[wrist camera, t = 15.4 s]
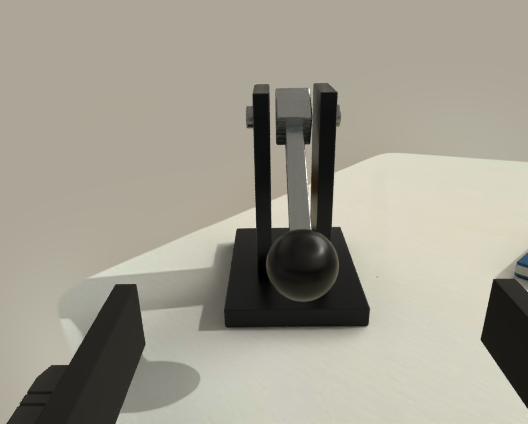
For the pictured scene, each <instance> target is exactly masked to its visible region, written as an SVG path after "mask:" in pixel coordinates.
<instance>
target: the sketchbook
mask: <svg viewBox="0 0 528 424" xmlns="http://www.w3.org/2000/svg"><path fill="white" fill-rule="evenodd" d="M515 275H516V276H519V277H522V278H525V279H528V253H527V254H526V255H525V256H523V257H522V258H521V259H520V260H519V261H518V262H517V265H516V270H515Z"/></svg>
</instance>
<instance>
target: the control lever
mask: <svg viewBox="0 0 528 424" xmlns="http://www.w3.org/2000/svg"><path fill="white" fill-rule="evenodd" d="M311 127H312V108H311V98H310V89H309V88H277V89H276V144H277V145H285V146H286V147H285V148H286V171H287V191H288V192H287V193H288V215H289V231H288V232H286V233H284V234H283V235H281V236H280V237H279V238H278V239H277V240H276V241H275V242H274V243H273V244H272V246H271V248H270V250H269V252H268V255H267V261H266V269H267V274H268V277H269V280H270V282H271V284H272V285H273V287H274V288H275V289H276V290H277V291H278V292H279V293H280V294H281V295H283V296H284V297H286V298H288V299H291V300H294V301H301V302H305V301H312V300H315V299H318V298H320V297H321V296H323V295H324V294H326V293H327V292H328V291H329V290H330V289H331V287H332V286H333V285H334V283H335V281H336V278H337V275H338V270H339V261H338V255H337V253H336V250H335V248H334V246H333V245H332V243H331V242H330V241H329V240H328V239H327V238H326V237H325V236H323V235H322V234H320V233H318V232H316V231H313V230H311V218H310V206H309V194H308V182H307V169H306V157H305V145H304V144H310V138H311Z"/></svg>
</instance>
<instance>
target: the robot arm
mask: <svg viewBox="0 0 528 424" xmlns="http://www.w3.org/2000/svg"><path fill="white" fill-rule="evenodd" d="M481 341H482V343H483V344H484V346H485V347H486V349H487V350H488V351H489V353H490V354H491V356H492V357H493V359H494V360H495V362H496V363H497V365H498V366H499V368H500V369H501V370H502V372H503V373H504V375H505V376H506V378H507V379H508V381H509V382H510V384H511V385H512V387H513V388H514V389H515V391H516V392H517V394H518V395H519V397H520V398H521V400H522V401H523V403H524V404H525V406H526V407H527V408H528V292H527V291H526V290H525V289H524V288H523V287H522V286H521V285H520V284H519V283H518V282H517V281H516V280H515V279H493V283H492V288H491V293H490V298H489V302H488V307H487V312H486V317H485V321H484V326H483V331H482V335H481ZM144 347H145V338H144V331H143V325H142V318H141V312H140V305H139V299H138V292H137V286H136V284H116V285H115V286H114V288H113V290H112V292H111V293H110V295H109V297H108V298H107V300H106V302H105V304H104V305H103V307H102V309H101V310H100V312H99V314H98V316H97V317H96V319H95V321H94V322H93V324H92V326H91V328H90V329H89V331H88V333H87V334H86V336H85V338H84V340H83V341H82V343H81V345H80V346H79V348H78V350H77V352H76V353H75V355H74V357H73V358H72V360H71V362H70V364H69V365H51V366H50V367H49V368H48V369H46V370H45V371H44V372H43V373H42V374H41V375H39V376H38V377H37V378H36V380H35V381H34V383H33V384H32V386H31V387H30V389H29V390H28V392H27V395H25V396H24V398H23V399H22V401H21V403H20V406H19V407H17V409H16V410H15V412H14V413H13V415H12V416H11V418H10V419H9V421H8V422H7V424H115V423H116V421H117V418H118V415H119V413H120V410H121V408H122V405H123V402H124V400H125V397H126V394H127V392H128V389H129V386H130V384H131V381H132V378H133V376H134V373H135V371H136V368H137V365H138V363H139V360H140V357H141V355H142V352H143V349H144Z"/></svg>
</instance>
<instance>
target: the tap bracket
mask: <svg viewBox="0 0 528 424" xmlns="http://www.w3.org/2000/svg"><path fill="white" fill-rule="evenodd" d="M337 95H338V93H337V91H335V90H334V89H333V88H332V87H331V86H330V85H329V84H328V83H315V84H314V87H313V130H312V131H313V132H312V173H311V215H310V218H311V230H313V231H316V232H318V233H320V234H322V235H323V236H325V237H326V238H327V239H328V240H329V241H330V242H331V243H332V245H333V246H334V248H335V250H336V253H337V255H338V261H339V270H338V275H337V278H336V281H335V283H334V285H333V286H332V287H331V289H330V290H329V291H328V292H327V293H326V294H324V295H323V296H321V297H320V298H318V299H315V300H312V301H305V302H301V301H294V300H291V299H288V298H286V297H284V296H283V295H281V294H280V293H279V292H278V291H277V290H276V289H275V288H274V287H273V285H272V284H271V282H270V280H269V277H268V274H267V269H266V261H267V255H268V252H269V250H270V248H271V246H272V244H273V243H274V242H275V241H276V240H277V239H278V238H279V237H280V236H281V235H283V234H284V233H286V232H288V231H289V228H271V169H270V168H271V167H270V101H269V100H270V98H269V85H268V84H259V85H258V84H257V85H255V86H254V90H253V106H247V107H246V125H247V128H253V130H254V164H255V197H256V198H255V199H256V228H242V229H237V230H236V237H235V243H234V250H233V256H232V263H231V270H230V276H229V283H228V289H227V296H226V302H225V309H224V314H225V326H226V327H276V326H365V325H368V324H369V313H370V308H369V305H368V302H367V299H366V297H365V294H364V291H363V288H362V286H361V283H360V280H359V277H358V275H357V272H356V269H355V266H354V264H353V261H352V258H351V255H350V253H349V250H348V247H347V244H346V241H345V239H344V236H343V233H342V230H341V228H340V227H332V208H333V186H334V163H335V162H334V161H335V139H336V127H339V125H340V121H341V108H340V105H337Z"/></svg>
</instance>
